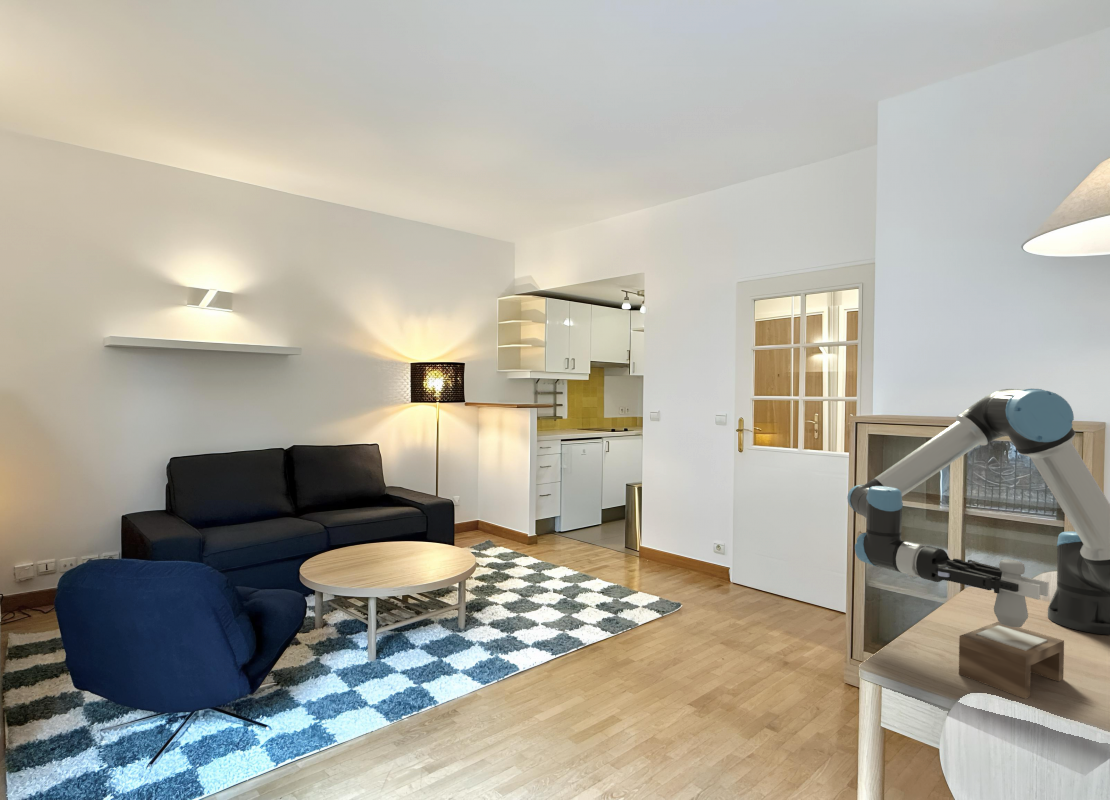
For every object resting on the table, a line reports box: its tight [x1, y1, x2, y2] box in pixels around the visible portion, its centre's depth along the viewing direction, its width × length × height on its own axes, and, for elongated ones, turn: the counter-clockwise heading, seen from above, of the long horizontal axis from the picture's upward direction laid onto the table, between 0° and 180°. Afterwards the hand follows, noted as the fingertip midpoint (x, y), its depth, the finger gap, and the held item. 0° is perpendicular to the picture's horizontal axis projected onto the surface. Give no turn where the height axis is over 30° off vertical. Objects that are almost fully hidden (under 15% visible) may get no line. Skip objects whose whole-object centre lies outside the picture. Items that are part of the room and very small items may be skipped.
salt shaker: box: [993, 558, 1029, 628], centre depth 129 cm, size 6×6×13 cm
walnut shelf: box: [958, 620, 1065, 699], centre depth 130 cm, size 16×12×8 cm
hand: (1043, 590), depth 125 cm, fingers closed on salt shaker, 3 cm apart
